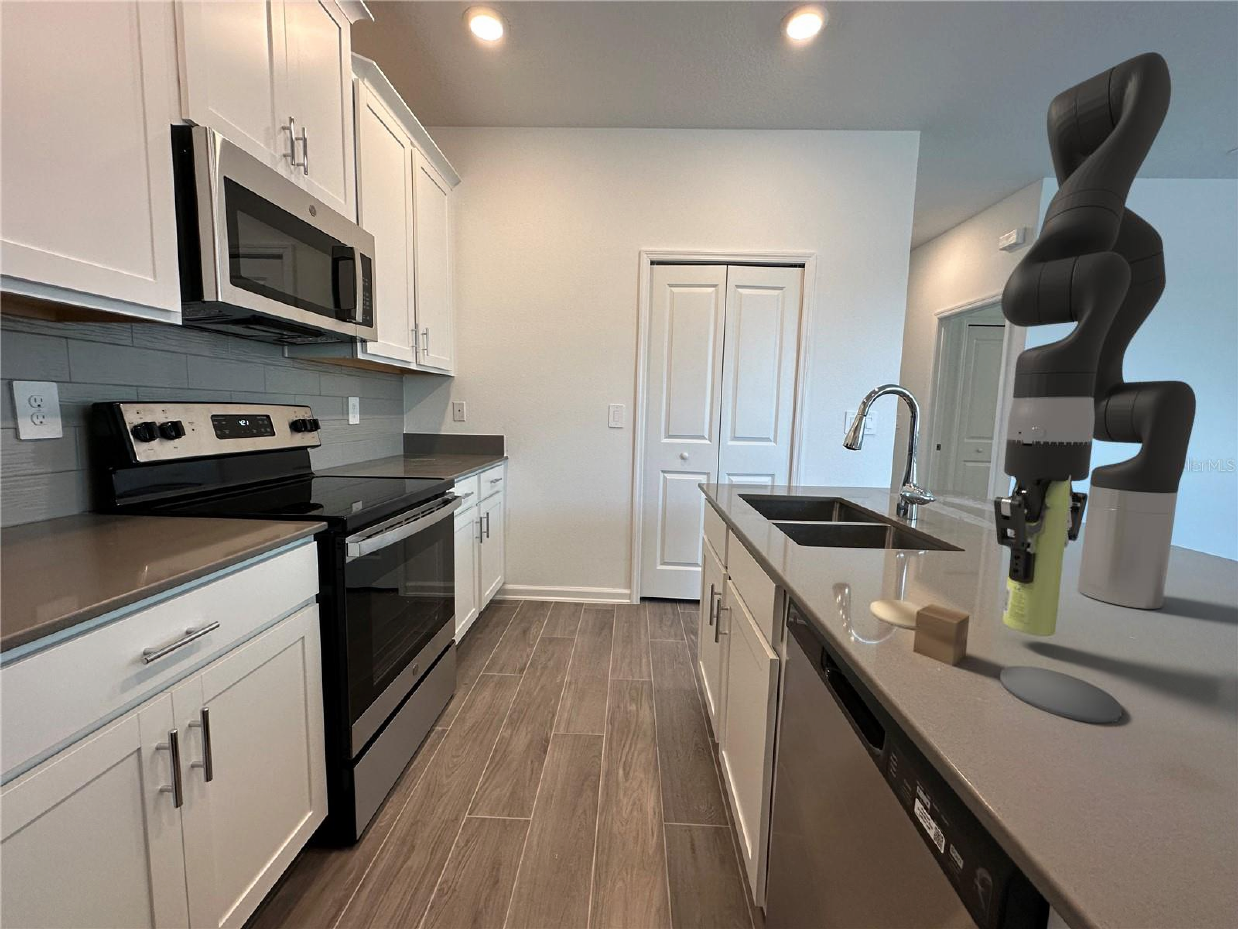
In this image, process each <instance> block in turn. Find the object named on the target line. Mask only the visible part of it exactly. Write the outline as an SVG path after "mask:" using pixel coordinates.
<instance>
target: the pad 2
mask: <svg viewBox="0 0 1238 929" xmlns="http://www.w3.org/2000/svg"><path fill="white" fill-rule="evenodd" d="M999 674H1000V675H999V682H1000V683H1001V685H1002V686H1003V688H1004V689H1005V690H1006V691H1007V692H1009V693H1010V694H1011V695H1013V696H1014V697H1015V698H1017V699H1019V700H1020V701H1023V702H1024V703H1027V704H1028V705H1031V706H1033V707H1035V708H1037V709H1040V710H1042V711H1045V712H1047V713H1050V714H1053V715H1056V716H1059V717H1063V718H1066V719H1069V720H1070V719H1071V720H1073V721H1081V722H1085V723H1093V724H1095V723H1096V724H1108V722H1110V723H1114V722H1116V721H1115V720H1117V719H1118V720H1120V718H1121V716H1120V715H1122V706H1121V704H1120V703H1119V700H1117V699H1116V698H1115V697H1113V695H1111V694H1110V693H1108V692H1107V691H1105V690H1103V689H1102V688H1100V687H1098V686H1096V685H1094V684H1092V683H1090V682H1088V681H1086V680H1083V679H1081V678H1077V677H1075V676H1071V675H1069V674H1066V673H1063V672H1060V671H1056V670H1052V669H1048V668H1043V667H1037V666H1028V665H1011V666H1007V667H1004V668H1003V669H1002V670H1001V671H1000V673H999ZM1119 717H1120V718H1119ZM1118 720H1117V721H1118ZM1113 721H1114V722H1113Z"/></svg>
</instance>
